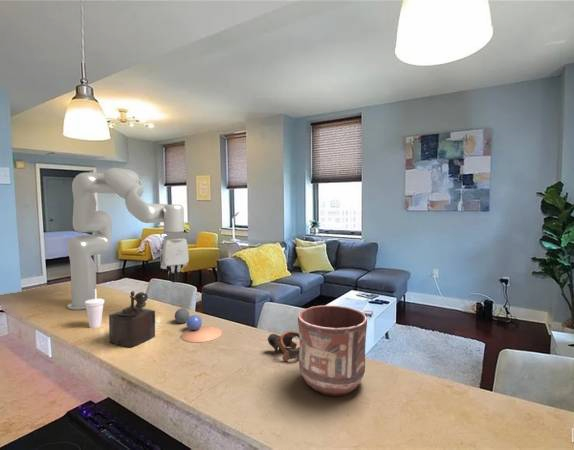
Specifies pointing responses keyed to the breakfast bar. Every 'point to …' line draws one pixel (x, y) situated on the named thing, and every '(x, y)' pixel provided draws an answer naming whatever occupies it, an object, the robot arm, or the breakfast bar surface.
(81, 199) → the robot arm
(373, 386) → the breakfast bar surface
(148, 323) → the brown coffee grinder
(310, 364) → the pottery
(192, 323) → the object ball
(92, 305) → the smoothie
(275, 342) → the brown curved piece
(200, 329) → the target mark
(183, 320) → the gray ball
